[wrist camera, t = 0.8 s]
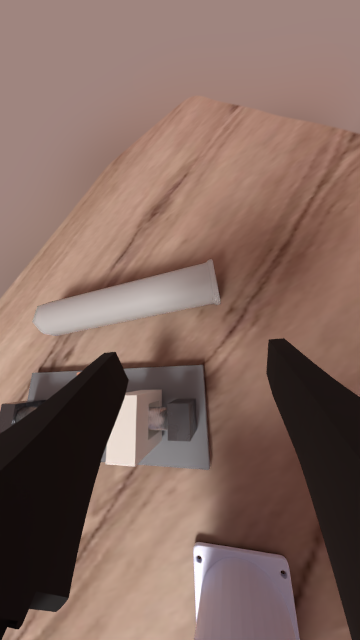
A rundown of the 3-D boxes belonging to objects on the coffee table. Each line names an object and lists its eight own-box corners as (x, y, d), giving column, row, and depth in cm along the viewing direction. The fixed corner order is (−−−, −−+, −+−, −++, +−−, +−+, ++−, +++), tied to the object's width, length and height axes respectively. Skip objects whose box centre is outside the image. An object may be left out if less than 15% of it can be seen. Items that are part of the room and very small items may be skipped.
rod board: (210, 466, 19) (204, 492, 15) (24, 453, 25) (-20, 469, 20) (203, 365, 22) (197, 363, 18) (37, 373, 28) (2, 372, 23)
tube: (27, 342, 25) (221, 303, 20) (19, 302, 25) (211, 252, 19) (60, 337, 30) (220, 304, 25) (54, 303, 30) (212, 264, 25)
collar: (162, 439, 20) (134, 466, 14) (140, 438, 21) (105, 464, 15) (161, 389, 21) (136, 395, 16) (141, 389, 22) (109, 395, 16)
